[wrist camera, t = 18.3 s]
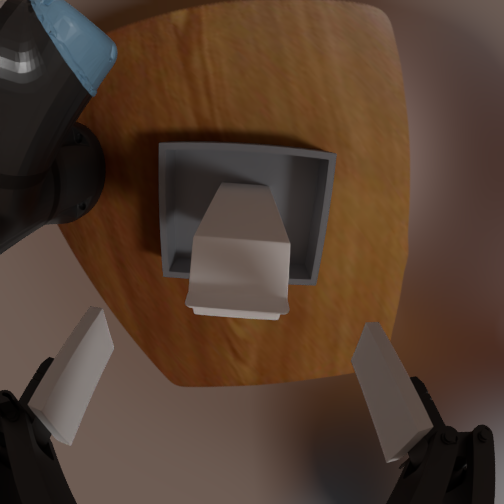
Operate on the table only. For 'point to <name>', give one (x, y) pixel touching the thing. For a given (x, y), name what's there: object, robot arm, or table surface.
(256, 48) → the table surface
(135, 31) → the table surface
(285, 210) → the bin
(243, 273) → the milk
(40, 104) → the robot arm
